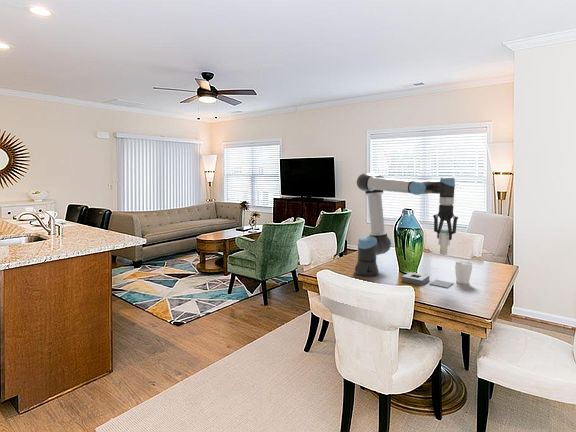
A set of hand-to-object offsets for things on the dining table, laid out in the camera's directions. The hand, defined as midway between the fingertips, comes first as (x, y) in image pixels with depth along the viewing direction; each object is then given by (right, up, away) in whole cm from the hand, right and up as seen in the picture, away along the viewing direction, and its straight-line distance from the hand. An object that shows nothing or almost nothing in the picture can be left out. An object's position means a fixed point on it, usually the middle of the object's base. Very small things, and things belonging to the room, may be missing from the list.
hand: (444, 244), depth 209 cm
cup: (+14, -23, +7) cm, 28 cm away
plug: (0, -5, +1) cm, 5 cm away
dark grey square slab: (-13, -23, +10) cm, 28 cm away
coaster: (0, -23, +3) cm, 24 cm away
